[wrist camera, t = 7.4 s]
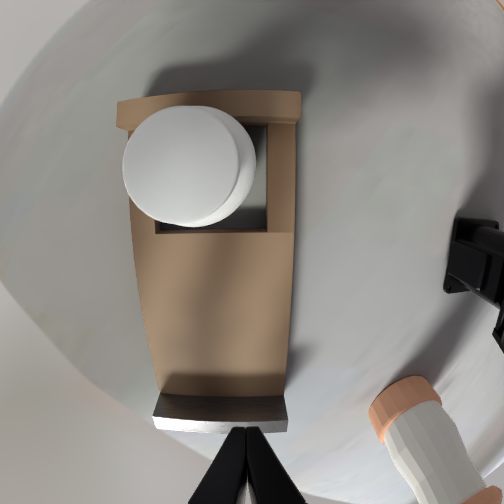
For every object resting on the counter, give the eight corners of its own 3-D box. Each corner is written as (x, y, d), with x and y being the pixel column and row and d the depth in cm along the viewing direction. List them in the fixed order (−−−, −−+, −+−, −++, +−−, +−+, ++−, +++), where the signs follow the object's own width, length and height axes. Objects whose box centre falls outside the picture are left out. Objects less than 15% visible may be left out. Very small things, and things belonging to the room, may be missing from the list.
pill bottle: (184, 118, 16) (134, 73, 7) (263, 141, 17) (283, 109, 8) (159, 196, 17) (91, 218, 9) (236, 220, 18) (230, 263, 9)
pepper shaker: (438, 381, 23) (522, 500, 5) (397, 425, 25) (456, 547, 6) (400, 368, 22) (498, 525, 3) (354, 419, 24) (412, 572, 5)
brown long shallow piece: (291, 104, 16) (304, 86, 12) (281, 397, 22) (286, 431, 18) (136, 111, 15) (110, 98, 12) (166, 395, 21) (156, 428, 18)
